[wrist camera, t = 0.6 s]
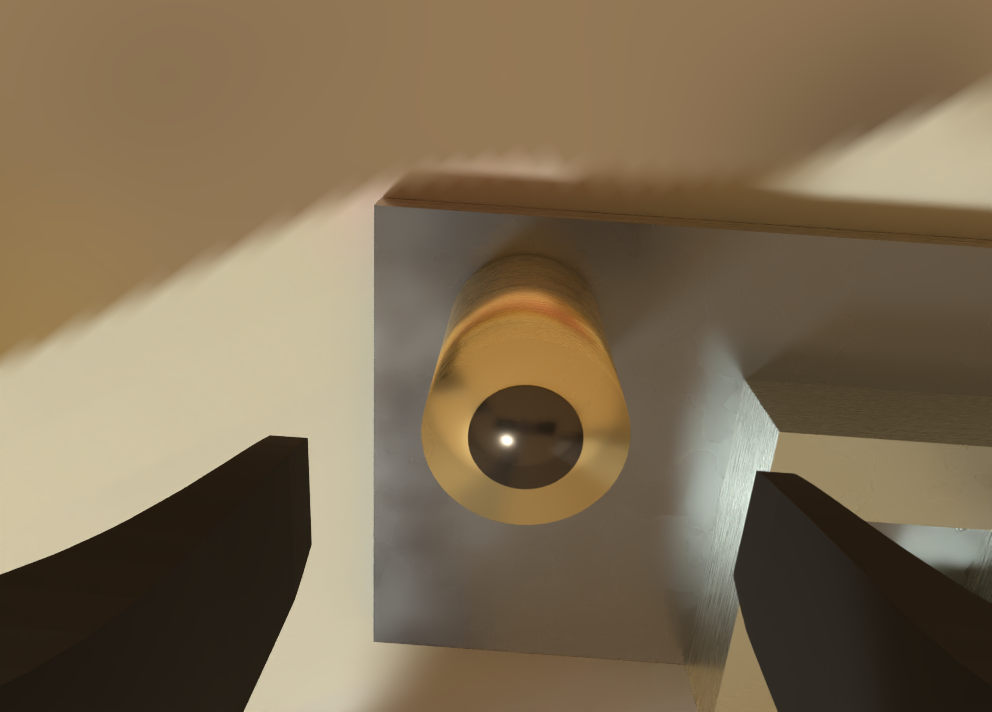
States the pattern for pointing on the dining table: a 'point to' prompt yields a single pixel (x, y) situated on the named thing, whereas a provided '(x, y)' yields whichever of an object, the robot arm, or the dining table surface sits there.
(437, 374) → the bushing
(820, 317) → the jig
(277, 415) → the dining table surface
